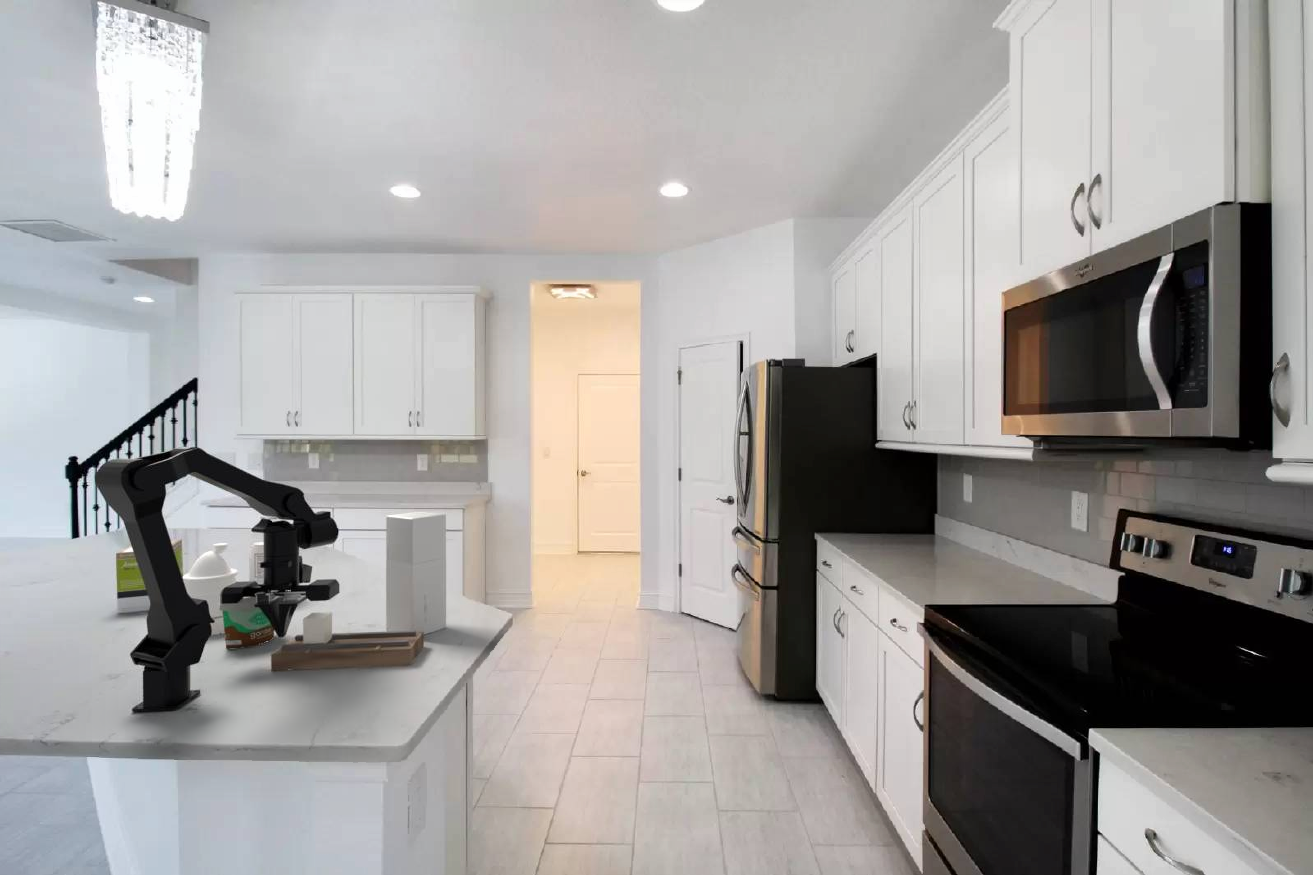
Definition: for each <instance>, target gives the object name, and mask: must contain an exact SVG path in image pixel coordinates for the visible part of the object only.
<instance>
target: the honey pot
mask: <svg viewBox="0 0 1313 875" xmlns="http://www.w3.org/2000/svg"><path fill="white" fill-rule="evenodd" d="M212 547H213V550H209V551H206V552H204V553H202V554H201V555H200V556H199V557H198V558H197V559H196V561H195V562H194V563H193V565H192V567H191V568H190V570H189V572H188V573H186V574H183V577H182V578H183V581H184V584H185V587H186V590H187V593H188V595H189V596H190V597H191V598H196V599H202V600H206V601H207V603H208V605H209V613H210V616H211V618H212V619H213V620H214V621H215V622H214V623H210V624H211V627H212V634H211V636H216V635H221V634H225V633H224V622H223V612H222V611H220V610H219V609H220V594H221V591H222V590H223V589H224V588H225V587H227V586H229V585H231V584H233V583H236V582H238V581H237V580H236V576H237V575H238V574H239V570H237V569H235V568H231V567H230V565H229V564H228V563H227V561H226V560H225V559H224V558H223V556H222V555H220V554H223V553H224V552H226V550H227V547H228V543H226V542H225V543H224V542H222V543H221V542H220V543H214V544H213V546H212ZM220 633H221V634H220Z"/></svg>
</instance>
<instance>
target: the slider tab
mask: <svg viewBox="0 0 1313 875" xmlns="http://www.w3.org/2000/svg"><path fill="white" fill-rule="evenodd" d="M302 621H303V622H302V629H303V632H302V635H303V644H315V643H327V642H328V641H329V640H331V639H332V634H333V612H331V611H330V612H329V611H328V612H311V613H310V614H308V615H307V616H306V617H304V618H303V619H302Z"/></svg>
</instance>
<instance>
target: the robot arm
mask: <svg viewBox="0 0 1313 875" xmlns="http://www.w3.org/2000/svg"><path fill="white" fill-rule="evenodd" d="M188 475H189V476H191V477H193V478H196V479H197V480H200V481H203V482H205V483H208V484H210V485H211V486H215V488H219V489H221V490H223V491H226V492H228V493H230V494H232V495H234V496H237V497H239V498H241V499H242V500H244V501H245V502H246V503H247V504H248V506H249V507H250V508H251V509H253V510H254V511H255V512H258V513H259V514H261V516H264V517H268V518H260V520H259V521H258V522H257V524H255V525H254V526H253V527H252V528H251V532H252V533H260V534H263V541H264V561H263V562H261V563H260V568H264V584H262V585H260V586H259V585H258V583H257V582H256V581H249V580H248V581H237V582H236V583H233V584H231V585H229V586H227V587H225V588H224V589H223V590H222V591H221V594H220V603H221V604H233V603H239V602H240V601H241V600H242V599H243V597H256V604H254V607H259V608H260V609H261V611H262V612H263V613H264V615H265V616H266V617H267V619H268V620H269V622H270V624H271V625H272V627H273V629H274V633H275V634H276V636H277V637H278V638H284V637H286V635H287V632H288V630H289V626H290V625H291V624H290V623H291V621H292V619H293V616H294V614H295V611H296V610H297V608H298V606H299V605H300V604H302V603H303V602H304V601H306V600H308V601H310V602H322V601H323V602H325V601H329V600H331V599H333V598H334V597H336V596H337V595H338V594H340V583H339V581H338V579H336V578H335V579H334V578H330V579H329V578H327V579H326V578H325V579H315V581H313V582H311V579H312V572H313V566H312V565H309V564H306V563H304V562H303V555H300V549H302V550H307V549H313V548H318V547H323V546H329V545H332V544H335V542H336V541H337V540H338V537H339V532H340V529H339V527H338V525H337V522H336V520H335V519H333V518H332V513H331V512H332V511H326V510H321V511H317V512H314V510H313V509H312V507H311V506H310V505H309V504H308V502H307V501H306V498H305V493H304V492H303V490H301V489H300V488H298V487H295V486H291V485H287V484H283V483H279V482H273V481H269V480H265V479H262V478H260V477H258V476H256V475H254V474H252V473H249V472H248V471H245V470H243V469H241V468H239V467H237V466H235V465H233V464H230V463H228V462H227V461H225V460H222V459H220V458H218V457H216V456H215V455H211V454H210V453H208V452H206V451H205V450H204V449H203V448H200V447H197V446H176V447H175V448H172V449H169V450H166V451H164V452H163V451H162V452H158V453H157V452H156V453H152V454H149V455H143V456H139V457H136V458H121V457H120V458H111V459H110V460H107V461H105V462H104V463H103V464H102V465H100V467H98V470H97V471H96V472H95V473H94V482H95V485H96V487H97V490H98V491H99V493H100V494H101V496H102V498H103V499H104V501H105V502H106V504H107V505H108V506H109V507H110V508H111V509H112V510H113V512H115V513H116V514H117V515H118V517H119V518H120V519H121V520H122V521H123V524H124V527H125V530H126V531H125V532H126V534H127V536H128V540H129V542H130V546H132V549H133V552H134V555H135V558H136V561H137V564H138V567H139V570H140V573H141V576H142V579H143V582H144V585H145V588H146V591H147V594H148V597H149V600H150V608H149V611H148V613H147V616H146V618H145V621H146V627H147V628H146V629H147V634H146V635H145V636H144V637H143V638H142V639H141V641H140V642H139V643H138V644H137V645H136V646H135V647H134V648H133V650H131V651H130V654H129V656H130V659H131V661H132V662H133V664H134V665H135V666H142V667H143V670H142V702H140V703H138V704H136V705H134V706H133V707H132V708H131V712H132V713H136V712H139V713H140V712H156V711H174V710H178V709H180V708H181V707H183V706H184V705H185V704H187V703H189V701H191V700H193V699H194V698H196V697H197V696H198V695H199V694H201V689H191V666H193V665H196V664H199V663H200V662H201V658H202V656H203V653H204V649H205V646H206V644H207V643H208V641H209V638H210V637H212V635H211V634H212V627H211V624H210V623H214V622H215V621H214V620H213V619H212V618H211V616H210V613H209V605H208V603H207V601H206V600H202V599H196V598H191V597H190V596H189V595H188V593H187V590H186V587H185V584H184V582H185V581H183V578H182V574H181V571H180V568H179V565H178V562H177V559H176V555H175V552H174V549H173V546H172V543H171V540H172V539H171V538H170V534H169V531H168V527H167V524H166V522H165V518H164V514H163V508H164V503H165V500H166V497H167V487H166V485H169V484H171V483H174V482H177V481H179V480H181V479H183V478H184V477H186V476H188ZM269 517H270V518H277V519H278V520H275V521H272V519H270V518H269ZM290 521H293V522H292V523H291V522H290ZM275 590H276V591H275ZM277 590H278V591H277ZM285 590H288V591H285ZM271 591H273V592H271ZM274 591H275V592H274ZM284 598H285V601H284Z"/></svg>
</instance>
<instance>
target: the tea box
mask: <svg viewBox="0 0 1313 875" xmlns="http://www.w3.org/2000/svg"><path fill="white" fill-rule="evenodd" d="M170 540H171V543H172V546H173V549H174V552H175V555H176V559H177V562H178V565H179V568H180V571H181V574H182V577H183V576H184V564H183V563H184V562H183V561H184V560H183V539H182V538H179V539H177V538H176V539H170ZM115 567H116V568H115V571H116V574H115V575H116V602H117V603H116V605H117V613H118V614H126V613H127V614H128V613H136V612H146V611H148V612H149V608H150V600H149V597H148V594H147V591H146V588H145V585H144V582H143V579H142V576H141V573H140V570H139V567H138V564H137V561H136V558H135V555H134V552H133V549H132V546H131V545H129V546H127V547H125V548H123V549H121V550H120V551H118V552H116V553H115Z"/></svg>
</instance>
